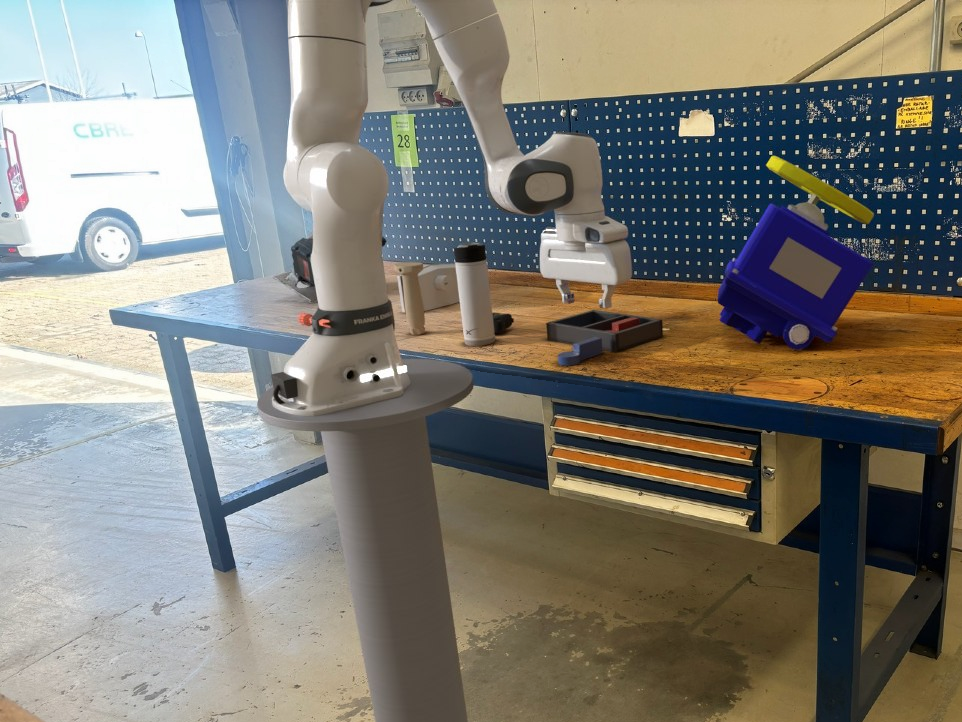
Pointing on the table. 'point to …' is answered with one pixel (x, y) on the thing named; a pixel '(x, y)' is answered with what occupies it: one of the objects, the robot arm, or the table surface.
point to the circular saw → (303, 269)
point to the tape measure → (502, 322)
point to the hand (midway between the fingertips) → (586, 305)
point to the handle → (412, 296)
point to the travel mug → (474, 295)
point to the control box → (794, 268)
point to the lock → (435, 286)
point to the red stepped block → (624, 324)
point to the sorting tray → (604, 330)
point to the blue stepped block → (581, 351)
